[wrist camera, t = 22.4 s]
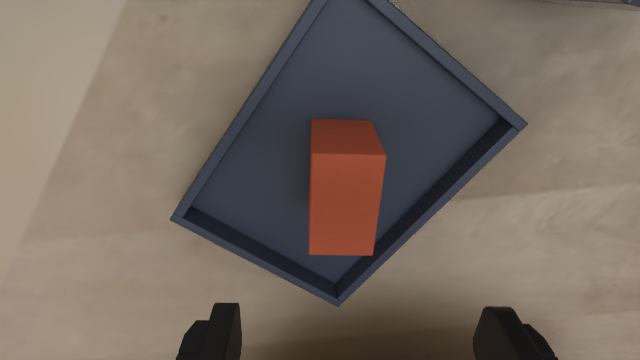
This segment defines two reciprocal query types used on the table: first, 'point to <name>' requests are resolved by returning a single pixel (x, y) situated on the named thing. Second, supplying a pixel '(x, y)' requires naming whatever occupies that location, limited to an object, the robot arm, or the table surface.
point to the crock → (602, 4)
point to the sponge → (344, 187)
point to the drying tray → (345, 104)
